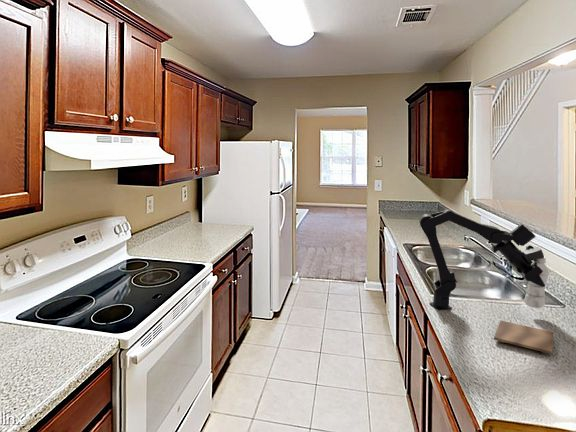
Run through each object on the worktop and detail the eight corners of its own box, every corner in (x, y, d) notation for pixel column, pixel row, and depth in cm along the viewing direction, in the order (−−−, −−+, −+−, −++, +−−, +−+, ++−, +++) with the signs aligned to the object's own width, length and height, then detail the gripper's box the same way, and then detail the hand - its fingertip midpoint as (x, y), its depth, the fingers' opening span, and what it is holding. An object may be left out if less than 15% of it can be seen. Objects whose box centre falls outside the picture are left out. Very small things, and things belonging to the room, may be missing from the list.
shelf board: (493, 342, 126) (494, 337, 126) (500, 325, 139) (500, 320, 139) (551, 357, 117) (552, 351, 117) (552, 337, 130) (553, 332, 129)
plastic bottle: (525, 302, 152) (530, 253, 148) (545, 306, 147) (551, 256, 144) (522, 307, 147) (528, 257, 143) (543, 311, 142) (549, 260, 139)
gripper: (539, 245, 135) (571, 278, 134) (522, 235, 153) (549, 263, 152) (512, 265, 138) (543, 297, 137) (498, 252, 156) (525, 280, 155)
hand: (540, 283), depth 145 cm, fingers closed on plastic bottle, 6 cm apart
